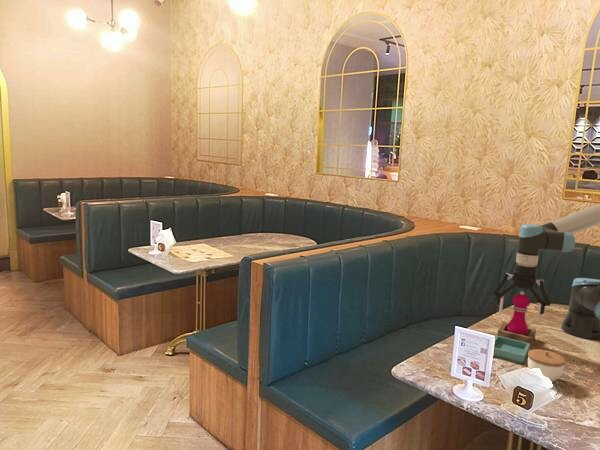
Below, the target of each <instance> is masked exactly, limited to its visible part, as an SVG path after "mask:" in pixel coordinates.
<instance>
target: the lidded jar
mask: <svg viewBox="0 0 600 450" xmlns="http://www.w3.org/2000/svg"><path fill="white" fill-rule="evenodd" d="M565 363H566V359H565V358H564V357H563V356H561V354H558V353H556V352H553V351H550V350H546V349H545V350H544V349H540V348H539V349H537V348H536V349H530V350H529V352H528V355H527V368H528V369H529V368H530V369H532V368H540V370H541V372H542V374H543V375H544V376H546V377H548V378H549V379H550V380H551V381H552V383H554V382H555V381H557V380H559V379H560V377H561V376H562V374H563V371H564V369H565V368H564V367H565V365H566V364H565Z"/></svg>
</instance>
